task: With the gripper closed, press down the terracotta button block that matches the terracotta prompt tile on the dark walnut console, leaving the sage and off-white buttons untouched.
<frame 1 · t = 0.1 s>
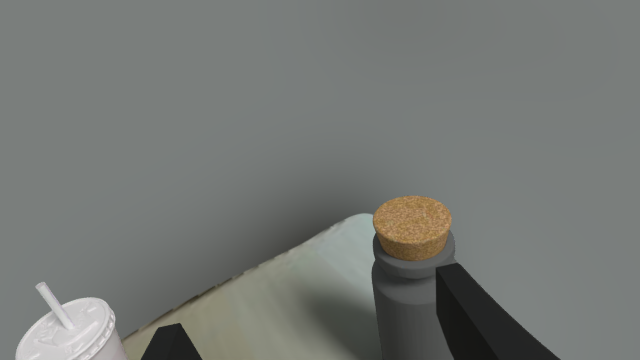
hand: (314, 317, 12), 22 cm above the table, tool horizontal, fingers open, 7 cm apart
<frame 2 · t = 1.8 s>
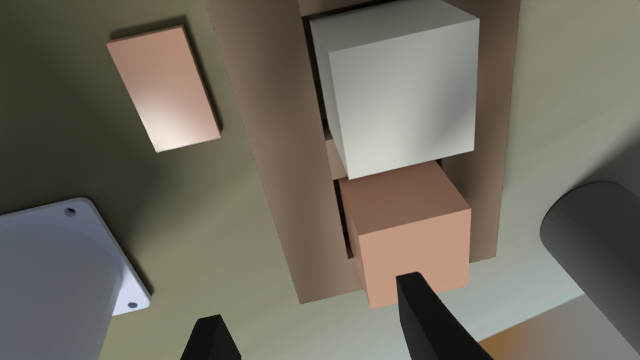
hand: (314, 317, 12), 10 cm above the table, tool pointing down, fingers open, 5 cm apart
bottle: (580, 216, 27), on the table
prompt tile: (169, 90, 18), on the table
console: (359, 47, 18), on the table
terracotta button: (401, 230, 19), point 4 cm above the table, slide at 0.0 cm
white button: (389, 83, 15), point 4 cm above the table, slide at 0.0 cm
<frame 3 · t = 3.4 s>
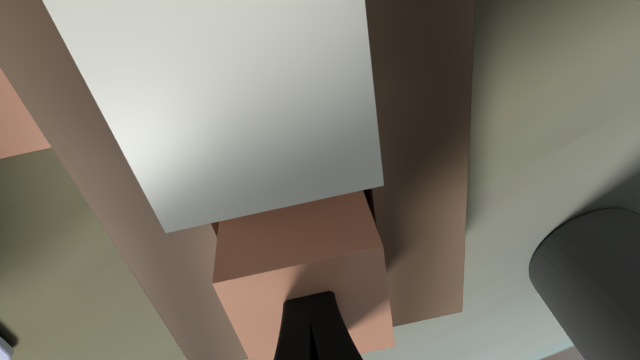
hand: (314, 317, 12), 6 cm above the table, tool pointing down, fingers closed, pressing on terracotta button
bottle: (582, 250, 21), on the table
console: (249, 16, 12), on the table
terracotta button: (306, 266, 13), point 4 cm above the table, slide at 0.9 cm, touching gripper
white button: (246, 68, 9), point 4 cm above the table, slide at 0.0 cm
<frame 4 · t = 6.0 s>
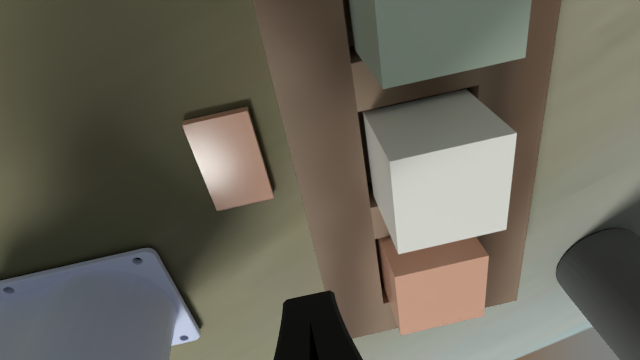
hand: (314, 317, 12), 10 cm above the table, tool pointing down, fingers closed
bottle: (594, 257, 29), on the table
prompt tile: (231, 159, 20), on the table
console: (400, 121, 21), on the table
terracotta button: (427, 267, 22), point 3 cm above the table, slide at 1.1 cm
white button: (433, 169, 17), point 4 cm above the table, slide at 0.0 cm
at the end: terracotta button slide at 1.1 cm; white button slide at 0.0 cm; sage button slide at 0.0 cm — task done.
